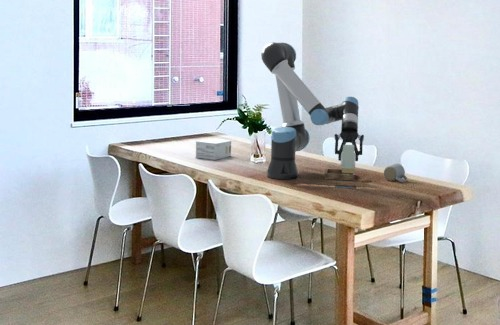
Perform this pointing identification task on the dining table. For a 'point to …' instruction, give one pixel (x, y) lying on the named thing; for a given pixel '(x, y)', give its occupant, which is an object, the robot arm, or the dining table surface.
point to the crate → (338, 174)
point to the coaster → (344, 186)
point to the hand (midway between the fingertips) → (347, 166)
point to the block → (348, 159)
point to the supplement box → (213, 149)
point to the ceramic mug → (395, 173)
